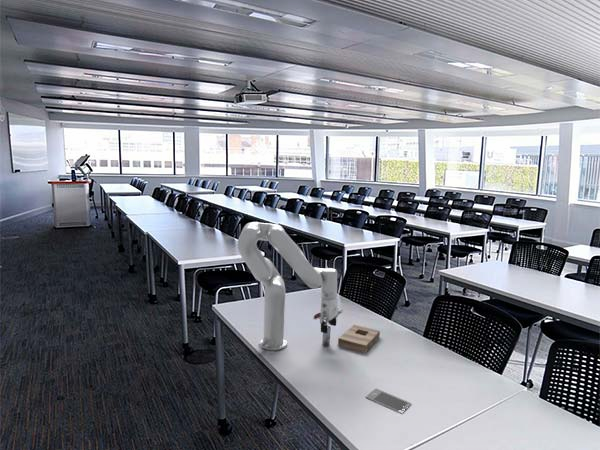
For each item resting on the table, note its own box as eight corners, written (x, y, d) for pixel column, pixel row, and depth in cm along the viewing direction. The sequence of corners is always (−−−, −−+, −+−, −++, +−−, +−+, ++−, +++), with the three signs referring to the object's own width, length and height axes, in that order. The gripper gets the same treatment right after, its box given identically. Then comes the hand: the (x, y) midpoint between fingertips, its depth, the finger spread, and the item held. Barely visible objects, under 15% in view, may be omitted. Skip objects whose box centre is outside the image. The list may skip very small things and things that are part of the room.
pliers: (348, 313, 238) (348, 309, 238) (330, 324, 222) (330, 319, 222) (331, 309, 245) (332, 305, 244) (312, 319, 229) (313, 314, 228)
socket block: (365, 352, 189) (365, 345, 188) (338, 345, 196) (338, 338, 195) (379, 337, 206) (379, 330, 206) (353, 330, 213) (354, 324, 212)
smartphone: (411, 405, 150) (412, 403, 150) (402, 415, 143) (402, 413, 143) (375, 389, 159) (375, 387, 159) (365, 398, 153) (365, 396, 153)
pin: (327, 347, 193) (328, 329, 192) (320, 345, 195) (321, 327, 193) (330, 344, 196) (331, 326, 195) (324, 342, 198) (325, 325, 197)
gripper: (328, 301, 182) (327, 337, 185) (343, 290, 197) (343, 324, 200) (313, 298, 186) (313, 333, 189) (329, 288, 201) (329, 321, 204)
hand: (328, 328), depth 194 cm, fingers open, 9 cm apart
